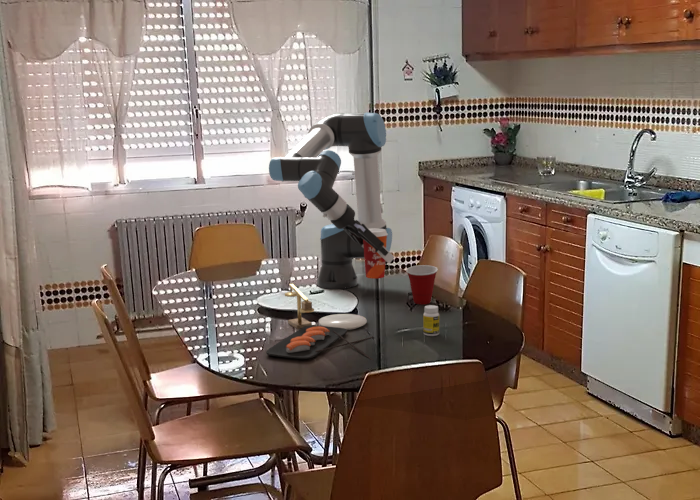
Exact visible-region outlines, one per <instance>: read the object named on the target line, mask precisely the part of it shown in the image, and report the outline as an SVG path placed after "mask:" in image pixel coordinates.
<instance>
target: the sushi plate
mask: <svg viewBox="0 0 700 500" xmlns="http://www.w3.org/2000/svg"><path fill="white" fill-rule="evenodd" d="M347 332H348V330H346V329H344V328H337V327H327V326H320V325H315V324H314V325H313V324H312V325H309V326H305V327H303V328H301V329H297V330H296V331H294V332H293V333H291V334H290V335H288V336H287V337H285V338H283V339H282V340H280V341H279V342H278V343H276V344H274V345H273V346H271V347H270V348H268V349H267V350H266V351H265V352H266V354H265V355H269V356H273V357H277V358H278V357H281V358H288V359H299V360H308V359H312V358H314V357H316V356H318V355H319V354H320V353H321V352H322V351H323V352H324V351H327V350H331V349H335V348H336V349H337V348H340V347H343V346H351V347H352V348H353V349H354V350H356V351H357V352H358V353H360V354H361V355H362V356H364V357H366V358H367V359H369V360H370V361H374V359H373V358H372V357H370V356H369V355H368V354H366V353H365V352H363V350H361V349H359V348H358V347H357V346H355V345H354V344H357V343H361V342H364V341H367V340H369V339H373V338H374V336H369V337H366V338H362V339H358V340H357V339H356V340H353V341H348V340H347V339H346V338H344V337H343V336H344V335H345V334H346V333H347ZM339 339H342V340H343V341H345V343H343V344H342V343H341V344H337V345H334V346H331V345H332V344H334V343H335V342H337V341H338V340H339ZM329 346H331V347H329Z"/></svg>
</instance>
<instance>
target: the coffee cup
mask: <svg viewBox="0 0 700 500" xmlns="http://www.w3.org/2000/svg"><path fill="white" fill-rule="evenodd" d="M369 230H370V231H371V232H372V233H373V234H374V235H375V236H376V237H377V238H378V239H380V240H381V241H382V242H383V243H384V245H383V246H384V247H385V248H386V241H387V235H388V234H387V231H386V230H385V229H379V228H371V229H369ZM363 245H364V259H363V260H364V270H365V278H367V279H371V280H372V279H374V280H375V279H383V278H384V277H385V273H386V261H385V260H384V259H383V258H382V257H381V256H380V255H379V254H378V253H377V252H375V248H373V247H372V246H371V245H370V244H368V243H367V242H366V241H365V240H364V239H363Z"/></svg>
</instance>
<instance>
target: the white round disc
mask: <svg viewBox="0 0 700 500" xmlns="http://www.w3.org/2000/svg"><path fill="white" fill-rule="evenodd" d="M367 322H368V321H367V318H366V317H364V316H362V315H359V314H354V313H337V314H330V315H326V316H323V317H321V318H319V319H318V326H327V327H337V328H344V329H346V330H347V331H349V330H350V331H351V330H357V329H359V328H361V327H363V326H365V325H366V324H367Z"/></svg>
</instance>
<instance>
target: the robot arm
mask: <svg viewBox="0 0 700 500" xmlns="http://www.w3.org/2000/svg"><path fill="white" fill-rule="evenodd" d="M386 129H387V128H386V124H385V121H384V119H383V117H382V116H381V115H380V114H379V113H377V112H369V111H367V112H346V113H345V112H337V113H334V114H330V115H327V116H326V117H324V118H322V119H320V120H319V121H316V122H315V123H314V124H312V126H311V127H310V128H309V130H308V132H307V133H308V134H307V135H306V136H304V137H303V138H302V139H301V140H300V141H299V142H298V143H297V144H296V145H295V146H294V147H292V148H291V150H290V151H289V152H287V153H286V154H285V155H284V156H275V157H272V158H271V159H270V161H269V163H268V173H269V176H270V179H271V180H273V181H276V182H277V181H278V182H282V183H283V182H298V183H297V188H298V190H299V192H301V193H302V195H303V197H304V198H305V199H306V200H308V201H309V202H310V203H311V204H312V205H313V206H314V207H315V208H316V209H317V210H318V211H320V212H321V213H322V217H323V218H327V219H328V221H330V223H329V224H327V225H324V226H323V227H322V228H321V229H320V239H319V240H320V258H321V266H320V270H319V272H318V276H317V280H316V281H317V282H316V283H317V286H318V287H319V288H322V289H330V290H332V289H333V290H338V289H340V290H341V289H348V288H353V287H355V286H357V285H358V277H357V274H356V271H355V268H354V264H353V259H363V260H364V245H363V239H364V240H365V241H366V242H367V243H368V244H370V245H371V246H372V247H373V248H375V252H377V253H378V254H379V255H380V256H381V257H382V258H383V259H384V260H385V263H387V264H391V263H392V261H393V260H394V259H395V256H394V255H393V254H392V252H390V251H391V248H392V244H393V243H392V242H393V231H392V228H390V227H387V221H386V220H384V219H383V217H382V216H383V215H382V205H381V191H380V190H381V187H380V172H379V156H378V155H379V154H380V153H381V152H382V147H384V146H385V145H386V142H387V130H386ZM332 147H348V153H349V154H350V155H351V156H352V157H353V166H354V168H353V169H354V170H353V171H354V179H355V180H354V181H355V182H354V183H355V193H356V194H355V196H356V207H357V209H356V210H357V219H355V217H356V211H355V210H354V209H353V208H352V206H350V205H349V204H348V203H347V201H346V200H344V199H343V197H342V196H341V195H339V194H338V193H337V192H336V191H335V189H334V188H333V187H334V184H335V182H336V179H337V177H338V174H339V173H340V169H341V165H342V160H341V159H342V158H341V156H340V155H339V154H338V153H337V152H335V151H333V150H330V148H332ZM331 223H332V224H331ZM371 228H379V229H385V230H386V231H387V234H388V235H387V241H386V248H385V247H384V246H383V245H384V243H383V242H382V241H381V240H380V239H378V238H377V237H376V236H375V235H374V234H373V233H372V232H371V231H370V230H369V229H371Z"/></svg>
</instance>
